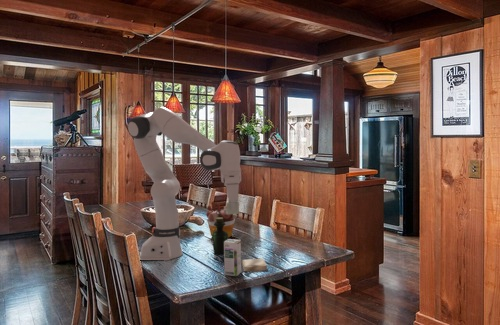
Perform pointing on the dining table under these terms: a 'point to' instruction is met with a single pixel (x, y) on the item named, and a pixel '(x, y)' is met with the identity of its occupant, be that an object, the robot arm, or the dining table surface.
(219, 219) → the potion bottle
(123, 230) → the dining table surface
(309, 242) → the dining table surface
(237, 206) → the sage cube
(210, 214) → the bucket of meat
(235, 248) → the syrup box
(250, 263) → the maple board
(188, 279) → the dining table surface
